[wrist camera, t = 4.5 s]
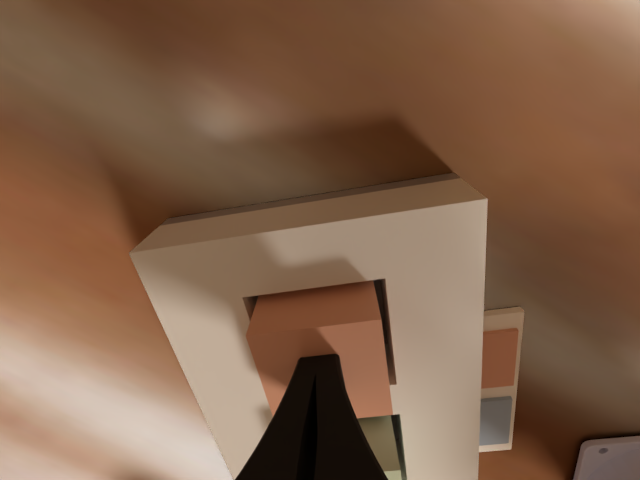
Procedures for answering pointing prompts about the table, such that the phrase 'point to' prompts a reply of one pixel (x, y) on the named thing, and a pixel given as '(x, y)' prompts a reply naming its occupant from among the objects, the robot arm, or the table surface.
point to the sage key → (382, 443)
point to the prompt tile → (499, 377)
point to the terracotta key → (323, 341)
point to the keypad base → (326, 270)
